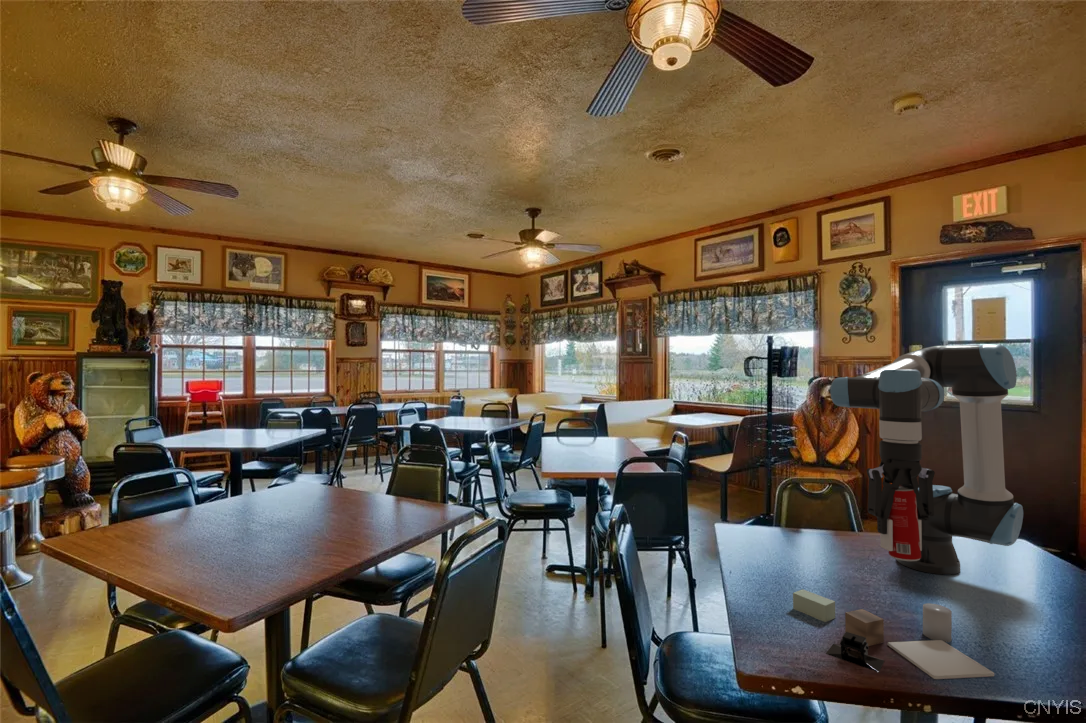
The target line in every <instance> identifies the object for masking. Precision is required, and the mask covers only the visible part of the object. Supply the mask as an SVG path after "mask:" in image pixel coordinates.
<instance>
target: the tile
mask: <svg viewBox="0 0 1086 723" xmlns="http://www.w3.org/2000/svg"><path fill="white" fill-rule="evenodd" d="M887 646H889V648H891V649H893V650H894V651H895V652H896V653H897V654H899V655H901V656H902V657H903V658H904V659H906V660H907V661H908V662H910V663H912V664H913V665H915V666H916V668H918V669H920V670H921V671H923V672H924V673H925V674H927V675H928V676H929V677H931V678H932V679H934V680H943V679H944V680H946V679H947V680H949V679H964V678H965V679H966V678H968V679H969V678H985V677H988V678H989V677H995V672H993V671H992V670H990V668H987V667H986V666H984V665H983V664H981V663H979V662H977V661H976V660H974V659H973V658H971V657H969V656H967V655H966V654H965V653H963V652H961V651H960V650H958V648H957V649H956V648H955V647H954V646H952V645H951V644H948V642H944V641H942V640H932V639H930V640H914V641H911V640H910V641H891V642H890V641H888V642H887Z"/></svg>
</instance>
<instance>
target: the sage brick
mask: <svg viewBox="0 0 1086 723" xmlns="http://www.w3.org/2000/svg"><path fill="white" fill-rule="evenodd" d="M792 609H793V610H795V611H798V612H800V613H803V614H805V615H807V616H810V617H812V618H814V619H816V620H819V621H820V622H824V623H828V622H830V621H831V620H834V619H836V601H835V600H832V599H830V598H827V597H824V596H821V595H819V594H817V593H814V592H811V591H809V590H805V589H800V590H797V591H795V592H793V593H792Z"/></svg>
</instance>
